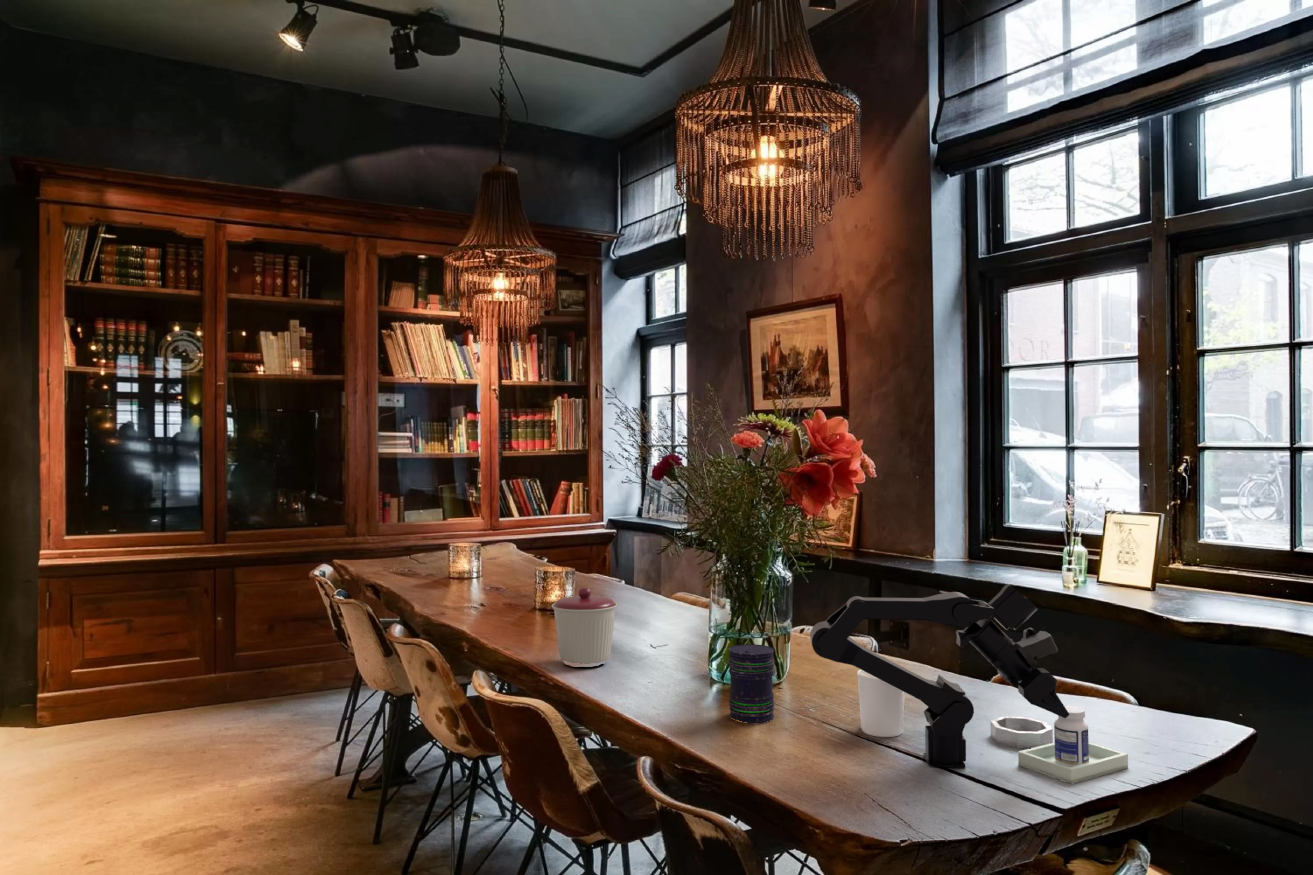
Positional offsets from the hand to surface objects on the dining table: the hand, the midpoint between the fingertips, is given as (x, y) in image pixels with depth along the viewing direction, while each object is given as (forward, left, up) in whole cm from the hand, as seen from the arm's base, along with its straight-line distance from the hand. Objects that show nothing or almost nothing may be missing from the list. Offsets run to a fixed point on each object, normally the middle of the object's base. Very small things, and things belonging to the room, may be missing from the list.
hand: (1058, 708), depth 166 cm
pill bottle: (+2, 0, -10) cm, 10 cm away
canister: (-103, +70, -11) cm, 125 cm away
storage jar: (-57, +25, -11) cm, 63 cm away
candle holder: (-30, +18, -11) cm, 36 cm away
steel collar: (-3, +15, -10) cm, 18 cm away
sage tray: (+2, 0, -10) cm, 11 cm away
